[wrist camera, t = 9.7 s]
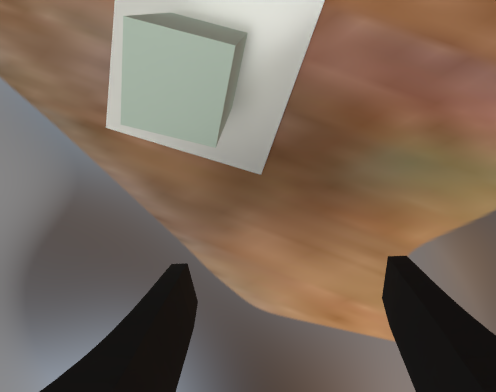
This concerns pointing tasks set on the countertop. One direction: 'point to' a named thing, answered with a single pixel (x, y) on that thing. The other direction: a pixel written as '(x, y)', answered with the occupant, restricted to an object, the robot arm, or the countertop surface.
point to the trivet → (250, 76)
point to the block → (179, 75)
